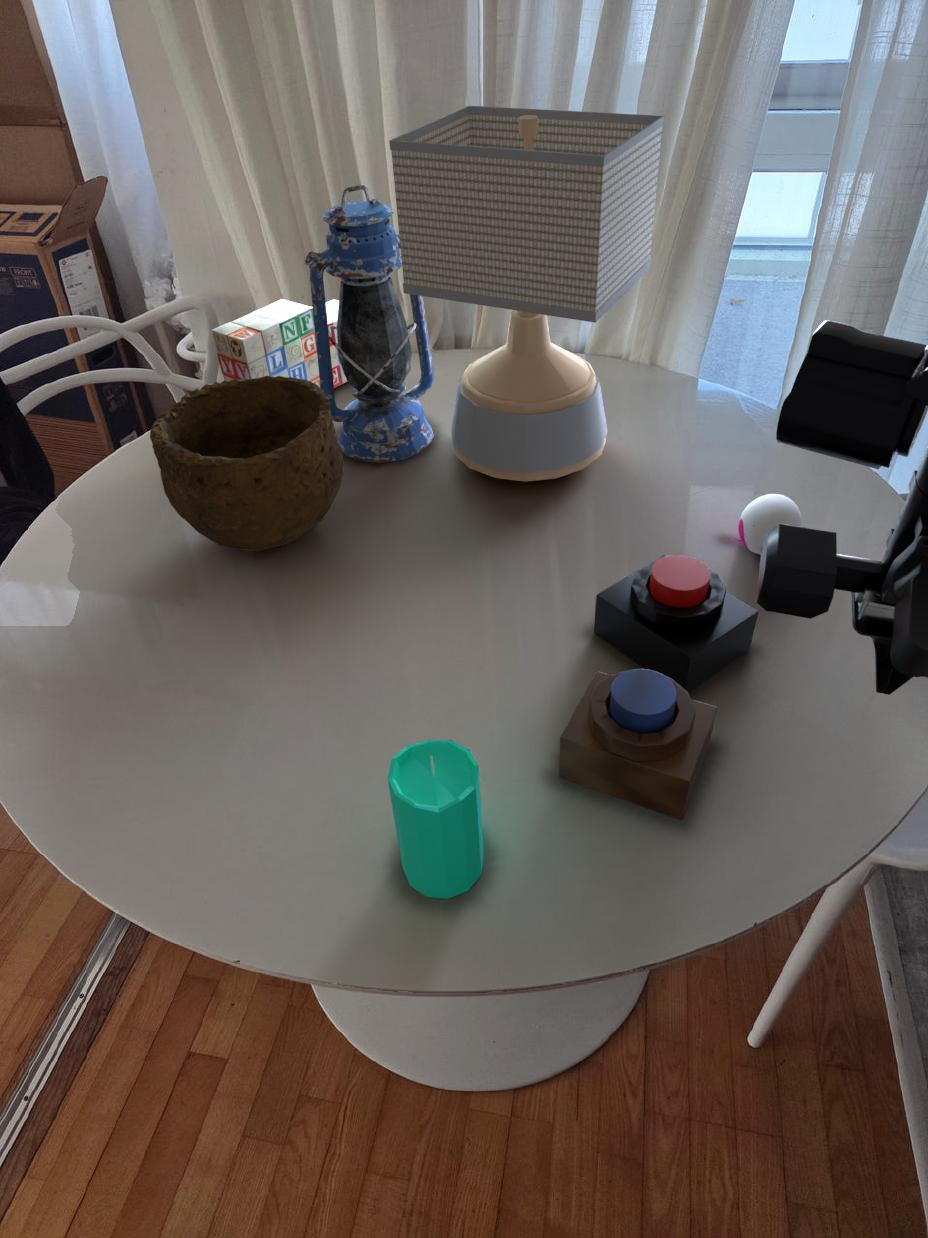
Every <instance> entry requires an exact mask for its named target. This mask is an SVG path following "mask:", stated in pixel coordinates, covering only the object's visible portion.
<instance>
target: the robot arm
mask: <svg viewBox="0 0 928 1238" xmlns="http://www.w3.org/2000/svg"><path fill="white" fill-rule="evenodd" d="M792 384H793V385H792V388H791V389H790V392H789V393H788V395H787V396H786V397H785V399H784V400H783V402H782V405H781V407H780V408H781V409H780V413H779V416H778V421H777V427H776V431H775V432H776V433H775V434H776V435H775V437H776V438H775V439H776V441H777V443H780V444H783V445H788V446H791V447H795V448H798V449H802V450H805V451H809V452H813V453H817V454H820V455H824V456H828V457H831V458H835V459H839V460H842V461H845V462H849V463H854V464H858V465H861V466H863V467H868V468H871V469H875V470H880V469H881V468H882V467H884V468H887V469H890V467H891V464H892V462H893V460H894V458H895V455H897V456H901V457H905V458H908V457H909V455H910V453H911V451H912V449H913V448H914V445H915V443H916V440H917V438H918V435H919V433H920V431H921V429H922V426H923V424H924V421H925V418H926V416H927V414H928V345H927V344H924V343H919V342H914V341H910V340H904V339H901V338H896V337H890V336H885V335H881V334H876V333H872V332H868V331H864V330H861V329H859V328H857V327H854V326H853V325H850V324H847V323H842V322H839V321H833V320H829V319H827V320H824V321H823V322H822V323H821V324H820V325H819V326H818V328H817V329H816V330H815V331H814V332H813V333H812V335H811V338H810V342H809V345H808V348H807V353H806V355H805V357H804V359H803V361H802V363H801V365H800V367H799V370H798V372H797V374H796V377H795V379H794V382H793V383H792ZM896 453H897V454H896ZM908 490H909V492H908V495H907V497H906V499H905V502H904V504H903V507H902V509H901V512H900V515H899V517H898V518H897V519H898V520H897V522H896V524H895V527H894V528H891V529H890V531H889V533H888V536H887V539H886V542H885V543H886V544H885V545H886V550H885V553H884V555H883V557H882V560H876V559H870V558H865V557H864V558H863V557H857V556H852V555H847V554H846V555H845V554H839V553H838V551H837V550H838V546H837V542H838V541H837V539H838V538H837V532H836V531H830V530H823V529H817V528H811V527H805V526H801V527H799V526H792V525H786V524H778V525H777V526H775V527H774V528H772V529H771V530H770V531H768V532H767V534H766V537H765V541H764V545H763V548H762V552H761V554H760V559H759V560H760V562H759V571H758V584H757V585H758V586H757V594H756V595H757V596H756V604H757V605H758V606H759V607H760V608H761V609H762V610H764V611H766V612H770V613H774V614H775V613H776V614H782V615H787V616H792V617H798V618H804V619H808V620H811V619H814V618H816V617H818V616H821V615H823V614H826V613H828V612H829V610H830V607H831V604H832V602H833V598H834V595H835V590H838V591H843V592H849V593H850V595H851V618H852V619H851V621H852V622H851V623H852V628H853V630H854V631H855V633H857V634H858V635H861V636H864V637H869V638H871V639H872V643H873V648H874V672H875V673H874V675H875V678H874V679H875V692H876V693H877V694H883V695H886V696H887V695H888V696H890V695H892V694H893V693H894V692H895V691H897V690H898V689H900V688H901V687H902V686H904V685H905V684H906V683H907V682H909V681H910V680H911V679H913V678H928V445H927V446H926V449H925V451H924V453H923V456H922V459H921V461H920V464H919V467H918V470H913V473H912V475H911V477H910V481H909V483H908Z"/></svg>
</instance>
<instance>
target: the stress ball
mask: <svg viewBox="0 0 928 1238" xmlns="http://www.w3.org/2000/svg"><path fill="white" fill-rule="evenodd" d="M778 524H786V525H792V526H799V527H802V515H801V512H800V509H799V507H798V505H797V503H796V502H795V501H793V499H791V498H790V497H788V496H787V495H783V494H780V493H779V494H778V493H768V494H764V493H763V495H761V496H759V497H757V498H755V499H754V500H752V501H751V502H750V503H749V504H748V505H746V507H745V508H744V510H743V511H742V513H741V515H740V517H739V520H738V526H737V527H738V529H737V530H738V537H739V539H738V538H732V537H731V538H730V537H727V539H729V540H733V541H738V542H741V543H742V545H743V546H744V547H745V548H746V549H747V550H749V551H750V552H752V553H754V554H757V555H761V552H762V548H763V545H764V541H765V537H766V534H767V532H768V531H770V530H771V529H772V528H774V527H775V526H777V525H778Z"/></svg>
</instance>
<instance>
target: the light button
mask: <svg viewBox="0 0 928 1238" xmlns="http://www.w3.org/2000/svg"><path fill="white" fill-rule="evenodd" d="M665 556H666V555H665ZM709 570H710V569H709V568H708V566H707V565H706V564H705V563H704V562H703V561H701V560H700V559H697V558H695V557H692V556H689V555H683V554H682V555H681V554H673V555H667V556H666V557H663V558H661V559H659V560H657V561H656V562H655V563H654V564H653V566H652V569H651V577H650V585H649V590H650V593H651V595H652V597H653V598H654V599H655V600H657V601H658V602H660V603H662V604H663V605H668V606H673V607H678V608H687V607H694V606H697V605H699V604H701V603H702V602H703V601H704V600H705V599H706V597H707V593H708V587H709V581H710V571H709Z"/></svg>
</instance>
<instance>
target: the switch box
mask: <svg viewBox="0 0 928 1238" xmlns="http://www.w3.org/2000/svg"><path fill="white" fill-rule="evenodd" d="M663 557H666V555H665V554H663V555H661V556H660V557H657V558H656V559H654V560H653V561H651V562H650V563H648V564H646V565H644V566H642V567H641V568H639V569H636V571H634V572H632V573H631V574H628V575H627V576H625V577H624V578H622V579H620V580H618V581H617V582H615V583H613V584H612V585H610V586H609V587H607V588H606V589H603V590H601V591H600V592H598V593H597V594H596V596H595V610H594V611H595V612H594V622H593V623H594V624H593V634H595V635H596V636H597V637H599V638H601V640H603V641H605V642H606V643H608V644H609V645H610V646H612V647H613V648H615V649H616V650H617V651H618V652H620V653H622V654H623V655H624V656H626V657H628V658H629V659H630V660H631V661H633V662H635V663H636V664H637V665H638V666H640V667H641V668H642V669H648V670H652V671H656V672H658V673H661V674H662V675H664V676H666V677H669V678H671V679H672V680H674V681H675V682H676V683H677V684H679V685H680V686H681V687H682V688H683V689H685V690H686V691H687V692H688V693H689V694H690V693H691V692H692V691H694V690H695V689H697V688H698V687H700V686H701V685H702V684H703V683H705V682H706V681H708V680H709V679H711V678H712V677H714V676H715V675H717V674H718V673H719V672H721V671H722V670H723V669H725V668H726V667H728V666H730V665H731V664H732V663H734V662H735V661H736V660H738V659H739V658H740V657H742V656H743V655H745V654H747V653H748V652H749V651H750V650H751V647H752V643H753V638H754V633H755V629H756V625H757V621H758V617H759V612H760V611H759V610H758V609H756V608H754V607H753V606H751V605H749V604H747V603H746V602H744V601H742V600H741V599H739V598H737V597H736V596H734V595H732V594H731V593H729V592H727V588H726V586H725V584H724V582H723V581H722V579H721V577H720V576H719V574H717V573H716V572H714V571H713V570H711V569H709V571H710V581H709V587H708V593H707V597H706V599H705V600H704V601H703V602H702V603H701V604H699V605H697V606H694V607H687V608H678V607H673V606H668V605H663V604H662V603H660V602H658V601H657V600H655V599H654V598H653V597H652V595H651V593H650V590H649V585H650V577H651V569H652V566H653V564H654V563H655V562H656V561H657V560H659V559H661V558H663Z"/></svg>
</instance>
